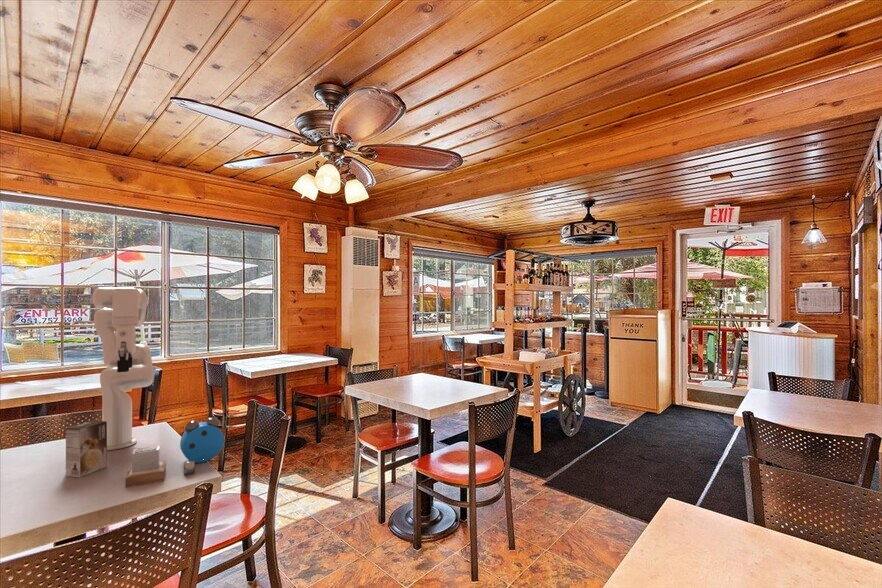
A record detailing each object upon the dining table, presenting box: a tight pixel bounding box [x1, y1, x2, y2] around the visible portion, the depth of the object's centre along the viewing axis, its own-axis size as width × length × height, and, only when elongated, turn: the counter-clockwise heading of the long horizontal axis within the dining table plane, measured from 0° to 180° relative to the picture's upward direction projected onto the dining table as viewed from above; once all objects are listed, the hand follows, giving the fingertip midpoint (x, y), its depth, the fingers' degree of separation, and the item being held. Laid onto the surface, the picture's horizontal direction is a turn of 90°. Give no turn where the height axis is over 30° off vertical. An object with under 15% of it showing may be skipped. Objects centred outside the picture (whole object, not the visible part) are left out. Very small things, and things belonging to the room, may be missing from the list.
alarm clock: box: [179, 416, 225, 464], centre depth 152 cm, size 13×6×15 cm, turn 131°
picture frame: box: [124, 460, 167, 488], centre depth 137 cm, size 10×10×3 cm
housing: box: [131, 445, 161, 473], centre depth 137 cm, size 5×7×6 cm
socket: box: [183, 459, 196, 477], centre depth 141 cm, size 3×3×4 cm
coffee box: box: [65, 420, 108, 478], centre depth 143 cm, size 9×6×16 cm
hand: (124, 369), depth 150 cm, fingers open, 9 cm apart
